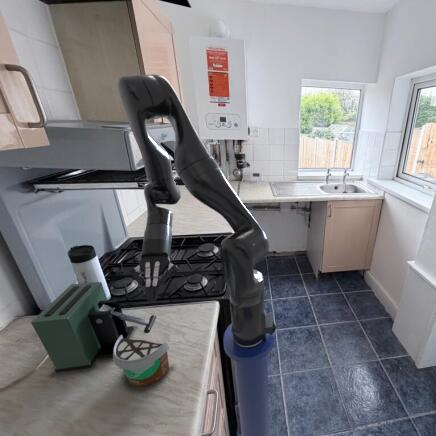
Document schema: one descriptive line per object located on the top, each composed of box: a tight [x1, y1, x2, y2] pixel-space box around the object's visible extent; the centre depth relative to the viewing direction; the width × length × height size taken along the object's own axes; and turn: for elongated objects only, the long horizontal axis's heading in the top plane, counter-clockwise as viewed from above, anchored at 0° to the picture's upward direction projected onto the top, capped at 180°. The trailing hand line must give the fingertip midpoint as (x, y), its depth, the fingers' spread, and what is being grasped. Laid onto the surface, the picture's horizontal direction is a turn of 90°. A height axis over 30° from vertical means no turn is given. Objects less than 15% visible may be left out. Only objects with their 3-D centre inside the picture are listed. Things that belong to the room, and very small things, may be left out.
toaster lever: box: [98, 304, 157, 334], centre depth 61 cm, size 13×5×2 cm, turn 101°
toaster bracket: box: [88, 298, 135, 360], centre depth 61 cm, size 5×9×13 cm, turn 10°
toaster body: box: [30, 282, 107, 373], centre depth 60 cm, size 7×13×16 cm, turn 10°
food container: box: [112, 335, 170, 389], centre depth 53 cm, size 12×6×10 cm, turn 82°
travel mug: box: [67, 244, 112, 300], centre depth 75 cm, size 6×7×20 cm
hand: (151, 301), depth 64 cm, fingers closed
